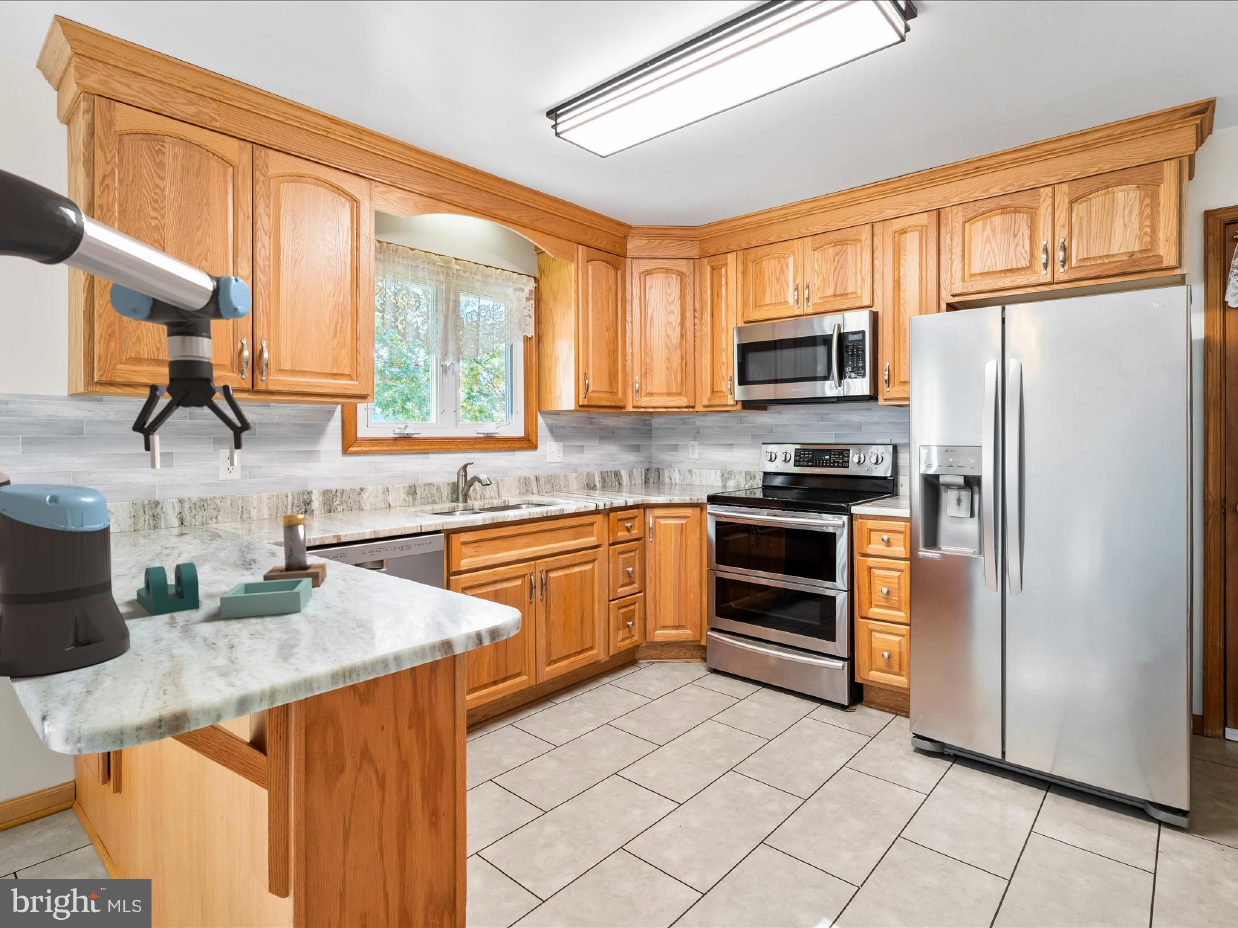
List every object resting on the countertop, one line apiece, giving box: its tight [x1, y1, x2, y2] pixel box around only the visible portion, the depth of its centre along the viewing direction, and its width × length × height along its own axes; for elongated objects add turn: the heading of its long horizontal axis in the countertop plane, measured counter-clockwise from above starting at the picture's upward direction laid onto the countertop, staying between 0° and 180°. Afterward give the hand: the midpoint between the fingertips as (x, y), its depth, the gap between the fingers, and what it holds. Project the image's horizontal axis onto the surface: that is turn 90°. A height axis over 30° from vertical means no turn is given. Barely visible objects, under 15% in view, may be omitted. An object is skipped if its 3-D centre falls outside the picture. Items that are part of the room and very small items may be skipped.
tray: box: [219, 578, 313, 619], centre depth 118 cm, size 12×12×4 cm
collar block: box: [262, 562, 328, 588], centre depth 137 cm, size 10×10×3 cm
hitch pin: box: [282, 513, 308, 572], centre depth 137 cm, size 4×4×14 cm
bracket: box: [136, 562, 200, 617], centre depth 122 cm, size 18×7×8 cm, turn 44°
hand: (195, 467), depth 135 cm, fingers open, 13 cm apart
